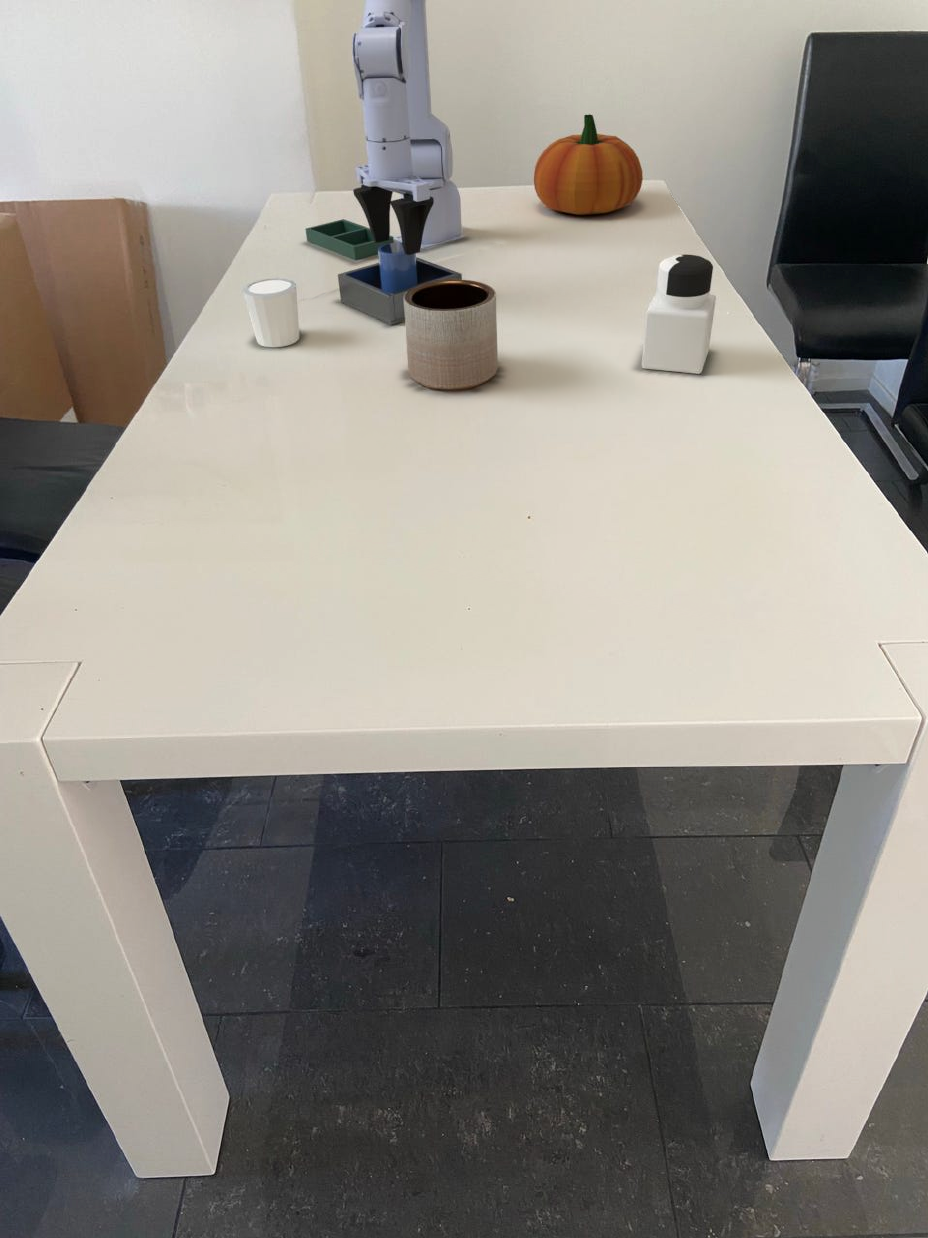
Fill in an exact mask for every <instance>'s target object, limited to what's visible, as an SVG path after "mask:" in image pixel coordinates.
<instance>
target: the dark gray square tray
mask: <svg viewBox="0 0 928 1238" xmlns="http://www.w3.org/2000/svg"><path fill="white" fill-rule="evenodd" d="M416 265H417V280H418V285H421V284H424V283H428V282H432V281H439V280H452V279H459V280H463V273H461V272H458V271H455V270H452V269H450V268H447V267H445V266H442V265H439V264H436V263H433V262H431V261H428V260H425V259H423V258H420V257H417V256H416ZM337 280H338V281H337V282H338V289H339V297H340V303H341V304H343V305H345V306H348V307H350V308H352V309H354V310H357V311H359V312H360V313H364V314H366V315H368V316H369V317H372V318H375V319H376V320H379V321H381V322H383V323H385V324H387V325H389V326H393V325H396V324H397V325H398V324H400V323H403V322H405V313H404V299H403V298H404V295H405V293H406V292H407V291H408V290H410V289H411V288H413V287H415V286H413V287H409V288H406V289H403V290H400V291H396V292H393V293H388V292H385V291H383V290H382V288H381V278H380V267H379V262H376V263H373V264H370V265H369V264H368V265H366V266H362V267H359V268H355V269H351V270H348V271H345V272H341V273H338V274H337ZM418 285H416V286H418Z"/></svg>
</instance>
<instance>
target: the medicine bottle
mask: <svg viewBox="0 0 928 1238" xmlns="http://www.w3.org/2000/svg"><path fill="white" fill-rule="evenodd" d="M713 271H714V265H713V263H712V262H711V261H710V260H709V259H707V258H704V257H703V256H700V255H696V254H675V255H672V256H669V257H667V258H664V259H662V261H661V262H660V263H659V266H658V274H657V275H658V276H657V283H656V285H657V286H656V292H655V294H654V295H653V298H652V300H651V302H650V304H649V305H648V308H647V309H646V314H645V324H644V335H643V345H642V346H643V347H642V358H641V368H642V369H645V370H656V371H667V372H675V373H686V374H696V375H699V374H701V373H702V372H703V369H704V366H705V363H706V359H707V357H708V353H709V351H710V345H711V337H712V329H713V323H714V315H715V310H716V309H715V307H716V303H717V302H716V301H717V296H716V295H715V294H711V287H712V278H713V273H714V272H713Z"/></svg>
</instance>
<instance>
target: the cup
mask: <svg viewBox="0 0 928 1238" xmlns="http://www.w3.org/2000/svg"><path fill="white" fill-rule="evenodd" d="M377 256H378V263H379V267H380V278H381V288H382V290H383V291H385V292H388V293H393V292H396V291H400V290H403V289H406V288H409V287H413V286H416V285H418V280H417V265H416V257H417V253H415V254H412V255H406V254H405V252H404V248H403V244H402V242H394V243H390V244H386V245H383V246H381V247H379V248H378V254H377Z"/></svg>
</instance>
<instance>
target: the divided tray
mask: <svg viewBox="0 0 928 1238" xmlns="http://www.w3.org/2000/svg"><path fill="white" fill-rule="evenodd" d="M305 235H306V236H305V237H306V242H308V243H310V244H313V245H315V246H318V247H321V248H323V249H325V250H328V251H331V252H333V253H336V254H338V255H341V256H343V257H346V258H348V259H350V260H353V261H359V260H362V259H366V258H369V257H373V256H378V248H379V247H381V246H383V245H386V244H390V243H395V242H394V241H395V240H394V236H392V235H390V236H389V240H387V241H383V242H379V243H376V242H375V241H374V239H373V236H372V233H371V230H370V227H367V226H364V225H361V224H359V223H356V222H353V221H350V220H347V219H344V218H341V219H338V220H334V221H331V222H326V223H323V224H318V225H314V226H310V227H307V228H305Z"/></svg>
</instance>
